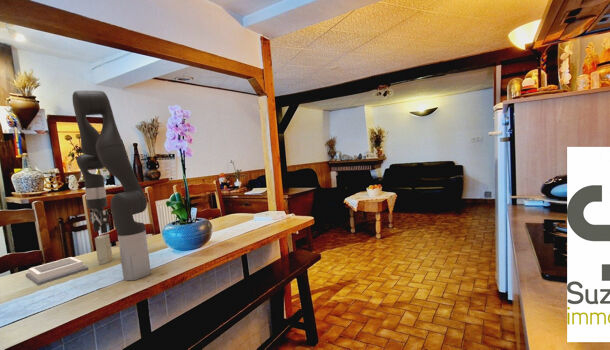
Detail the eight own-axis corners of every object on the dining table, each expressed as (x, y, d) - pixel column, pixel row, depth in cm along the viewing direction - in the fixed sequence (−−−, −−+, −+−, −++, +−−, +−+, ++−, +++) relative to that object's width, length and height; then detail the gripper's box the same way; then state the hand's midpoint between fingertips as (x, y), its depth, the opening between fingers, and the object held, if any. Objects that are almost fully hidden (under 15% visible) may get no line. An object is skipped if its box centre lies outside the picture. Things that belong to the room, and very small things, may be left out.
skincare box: (109, 262, 127) (106, 236, 126) (97, 264, 125) (94, 238, 125) (112, 258, 133) (109, 233, 132) (101, 260, 131) (98, 235, 130)
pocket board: (88, 269, 120) (86, 261, 120) (38, 285, 107) (36, 276, 107) (72, 262, 132) (71, 255, 132) (25, 276, 119) (24, 268, 118)
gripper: (80, 198, 128) (85, 232, 129) (92, 199, 120) (97, 235, 121) (99, 195, 134) (103, 228, 135) (112, 196, 126) (116, 231, 127)
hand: (100, 231), depth 128 cm, fingers open, 8 cm apart
